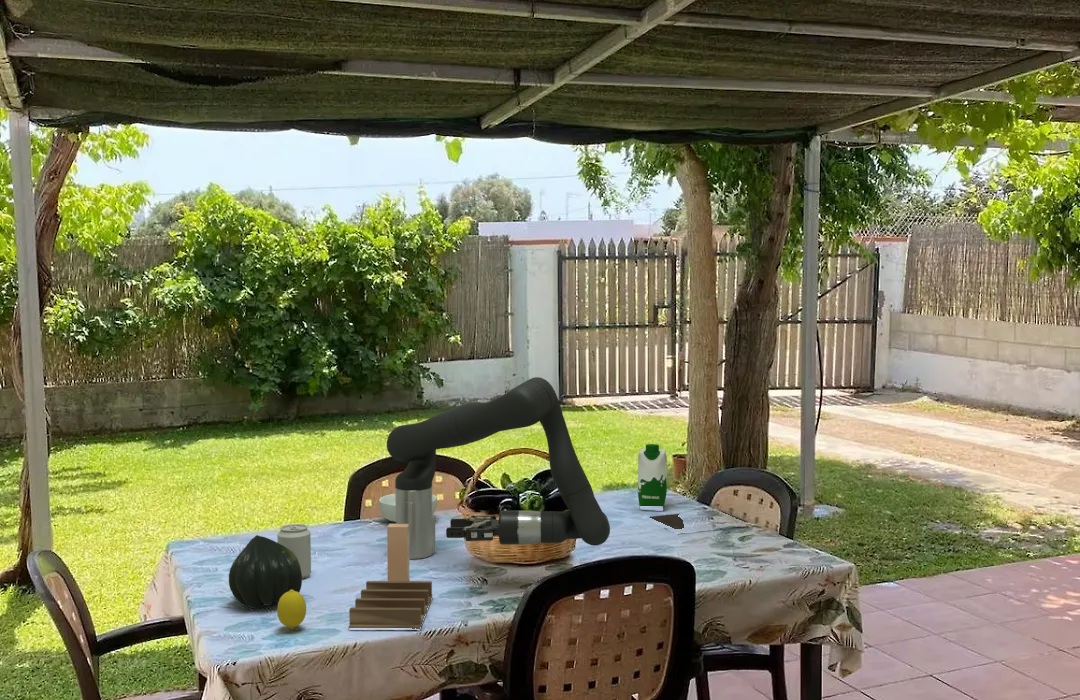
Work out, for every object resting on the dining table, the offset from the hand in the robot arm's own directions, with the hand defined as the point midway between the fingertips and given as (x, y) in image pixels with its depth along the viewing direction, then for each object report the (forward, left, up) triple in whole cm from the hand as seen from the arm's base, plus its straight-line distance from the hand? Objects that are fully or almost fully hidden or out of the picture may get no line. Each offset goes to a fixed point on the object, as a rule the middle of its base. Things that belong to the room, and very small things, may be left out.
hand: (448, 528), depth 216 cm
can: (+18, -33, -14) cm, 40 cm away
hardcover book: (-87, +12, -14) cm, 89 cm away
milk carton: (-95, -9, -14) cm, 96 cm away
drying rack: (+20, +4, -13) cm, 25 cm away
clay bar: (+7, -9, -13) cm, 18 cm away
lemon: (+39, -4, -14) cm, 42 cm away
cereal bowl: (-35, -53, -14) cm, 65 cm away
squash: (+33, -22, -14) cm, 42 cm away
